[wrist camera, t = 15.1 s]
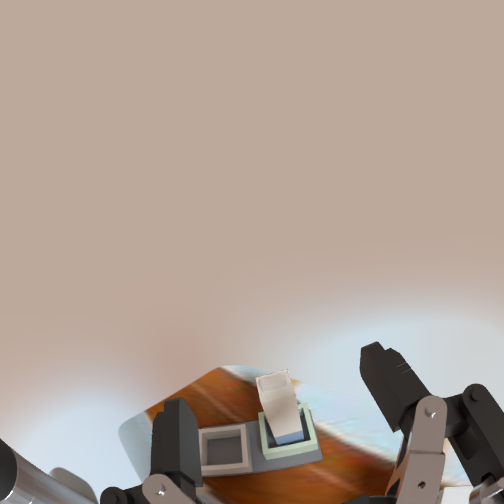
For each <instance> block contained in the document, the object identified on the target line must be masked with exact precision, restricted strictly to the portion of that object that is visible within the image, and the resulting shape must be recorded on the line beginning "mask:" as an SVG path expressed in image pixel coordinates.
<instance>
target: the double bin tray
mask: <svg viewBox="0 0 504 504" xmlns="http://www.w3.org/2000/svg"><path fill="white" fill-rule="evenodd" d="M298 410H299V415H300V420H301V425H302V430H303V436H304V441H305V442H301V443H296V444H291V445H287V446H281V447H278V445H277V442H276V440H275V438H274V435H273V433H272V430H271V428H270V425H269V423H268V420H267V417H266V415H265V412H259V413H258V416H259V420H256V421H250V422H244V423H237V424H229V425H221V426H211V427H202V429H198V431H199V446H200V459H201V471H202V477H221V476H234V475H244V474H253V473H261V472H268V471H274V470H280V469H285V468H291V467H296V466H300V465H305V464H309V463H313V462H317V461H321V460H323V458H322V454H321V450H320V446H319V442H318V438H317V435H316V431H315V427H314V423H313V419H312V416H311V412H310V409H308V405H307V402H306V403H302V404H298Z"/></svg>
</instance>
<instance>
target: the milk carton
mask: <svg viewBox="0 0 504 504" xmlns="http://www.w3.org/2000/svg"><path fill="white" fill-rule="evenodd" d="M256 383H257V387H258V392H259V397H260V401H261V405H262V407H263V410H264V412H265V415H266V417H267V420H268V423H269V425H270V428H271V430H272V433H273V435H274V438H275V440H276V442H277V445H278V447H281V446H287V445H291V444H296V443H301V442H305V441H304V436H303V430H302V425H301V420H300V415H299V410H298V404H297V399H296V394H295V391H294V388H293V385H292V382H291V379H290V376H289V373H288V371H287V369H286V370H283V371H280V372H276V373H272V374H268V375H264V376H260V377H256Z"/></svg>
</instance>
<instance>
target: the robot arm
mask: <svg viewBox="0 0 504 504" xmlns="http://www.w3.org/2000/svg"><path fill="white" fill-rule="evenodd" d="M360 373H361V377H362V379H363V381H364V382H365V384H366V386H367V388H368V389H369V391H370V392H371V395H372V396H373V398H374V400H375V401H376V403H377V405H378V407H379V408H380V410H381V412H382V414H383V415H384V417H385V419H386V420H387V422H388V424H389V426H390V427H391V429H392V431H393V433H394V432H396V431H398V430H400V429H401V431H402V433H403V437H402V441H401V445H400V449H399V453H398V457H397V461H396V465H395V468H394V471H393V474H392V476H391V478H390V481H389V483H388V486H387V489H386V492H385V495H384V496H370V497H367V495H366V494H365V495H362V496H360V497H358V498H355V499H352V500H350V501H347V502H345V503H342V504H436V500H437V497H438V493H439V488H440V484H441V480H442V475H443V470H444V464H445V453H443V444H444V438H448V440H449V442H450V443H451V445H452V447H453V449H454V451H455V453H456V454H457V456H458V458H459V460H460V462H461V464H462V466H463V468H464V470H465V472H466V474H467V476H468V478H469V480H470V482H471V484H472V486H473V490H472V491H471V493H470V496H469V504H504V412H503V411H502V410H501V408H500V407H499V405H498V404H497V402H496V401H495V400H494V398H493V397H492V396H491V394H490V393H489V392H488V390H487V389H486V387H484V386H483V385H481V384H471V385H470V386H468V387H467V388H466V389H465V390H464V392H463V393H462V394H459V395H455V396H451V397H448V398H440V397H438V396H434V395H432V394H431V393H430V392H429V391H428V390H427V389H426V387H425V386H424V384H423V383H422V382H421V380H420V379H419V378H418V376H417V375H416V374H415V372H414V371H413V370H412V369H411V367H410V366H409V365H408V363H406V361H405V359H404V358H403V357H402V355H401V354H400V353H398V352H397V351H395V350H393V349H392V348H389V349H387V350H384V348H383V347H382V346H381V345H380V343H379V342H374V343H372V344H369V345H367V346H364V347H362V348H361V358H360ZM152 433H153V434H152V447H151V471H150V475H149V477H148V478H146V479H145V481H144V482H143V484H141V485H139V486H136V487H133V488H129V489H125V490H122V489H119V488H117V487H109V488H107V489H105V490H104V491H103V492H102V494H101V497H100V504H205V503H204V502H203V501H202V500H201V499H200V498H198V497H197V496H196V490H195V487H203V482H202V471H201V459H200V446H199V431H198V422H197V419H196V416H195V414H194V413H193V411H192V410H191V409H190V407H189V406H188V404H187V403H186V402H185V400H184V399H183V398H182V397H181V398H175V399H168V400H165V403H164V412H158V413H157V415H156V417H155V419H154V421H153V429H152ZM0 504H96V503H95V502H93V501H92V500H90V499H88V498H86V497H84V496H82V495H81V494H79V493H77V492H75V491H74V490H72V489H70V488H68V487H67V486H65V485H63V484H62V483H60V482H58V481H57V480H55V479H54V478H52V477H50V476H49V475H47V474H46V473H44V472H43V471H41V470H40V469H38V468H37V467H36V466H34V465H33V464H31V463H30V462H29V461H27V460H26V459H25V458H23V457H22V456H21V455H19V454H18V453H17V452H16V451H14V450H13V449H12V448H11V447H9V446H8V445H7V444H6V443H5V442H4V441H2V440H1V439H0Z"/></svg>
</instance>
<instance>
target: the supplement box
mask: <svg viewBox="0 0 504 504" xmlns="http://www.w3.org/2000/svg"><path fill="white" fill-rule="evenodd" d="M472 490H473V486H472V485H469V486H456V487H444V488H443V489H442V490H440V491H439V493H438V497H437V500H436V504H469V496H470V493H471V491H472Z"/></svg>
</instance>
